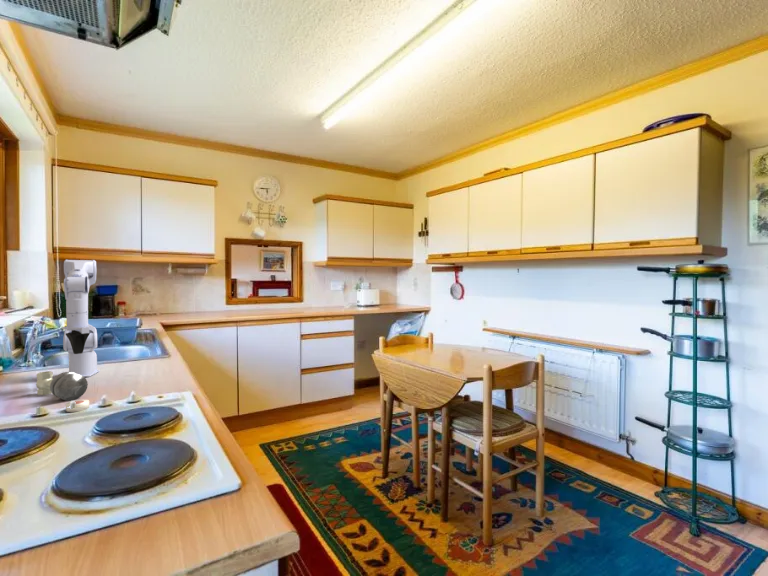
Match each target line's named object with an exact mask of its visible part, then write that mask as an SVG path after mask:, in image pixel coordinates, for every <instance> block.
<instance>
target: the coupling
mask: <svg viewBox="0 0 768 576" xmlns="http://www.w3.org/2000/svg"><path fill="white" fill-rule="evenodd" d="M88 384H89V383H88V381H87V377H83V376H82V375H79V374H76V373H74V372H69V371H64V372H61V373H59V374H57V375H55V376H54V378H53V380H52V382H51V384H50V391H51V394H52V395H53V396H54V397H56V398H59V399H61V400H63V401H69V402H72V401H76V400H79V399H80V398H81V397H82V396H83V395H84V394H85V393H86V391H87V390H88Z"/></svg>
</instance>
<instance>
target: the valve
mask: <svg viewBox="0 0 768 576" xmlns="http://www.w3.org/2000/svg"><path fill="white" fill-rule="evenodd" d="M53 377H54V373H53V371H50V370H49V371H41V372H38V373H37V374H36V379H37V380H36V383H35V385H36V388H37V390H36V391H37V392H36V393H37V394H36V395H37V396H46V395H51V394H52V393H51V391H50V384H51V382H52V380H53V379H54V378H53Z"/></svg>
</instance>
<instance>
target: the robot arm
mask: <svg viewBox="0 0 768 576" xmlns="http://www.w3.org/2000/svg"><path fill="white" fill-rule="evenodd" d="M63 273H64V279H63V291H64V299H65V300H66V301H65V304H66V305H65V306H66V307H65V308H66V310H65V311H66V312H65V313H66V314H65V315H66V326H62V327H61V328H62V330H64V331H63V333H64V334H63V339H62V340H63V341H62V348H63V350H64V351H65V352H67V353H68V372H74V373H76V374H79V375H82V376H83V377H85V378H88V377H91V376H93V375H95V374H97V373H100V372H101V369H98V355H97V353H96V351H95V350H96V349H97V348H98V331H97V330H98V329H97V328H96V327H95V326H93V325H92V324H90V323H89V293H90V287H91V286H93V285H94V284H96V281H97V261H96V260H95V259H91V260H90V259H89V260H88V259H86V260H85V259H80V260H79V259H65V260H64V261H63Z"/></svg>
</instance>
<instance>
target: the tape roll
mask: <svg viewBox="0 0 768 576" xmlns="http://www.w3.org/2000/svg"><path fill="white" fill-rule="evenodd" d="M74 401H75V402H76V404H77V405H80V406H82V407H77V408H73V409H70V408H67V407H69V406H70V402H71V401H69V402H66V404H65V411H66V412H67V413H75V412H82V411H85V410H88V409H89V408H90V400H89V399H76V400H74Z"/></svg>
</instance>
